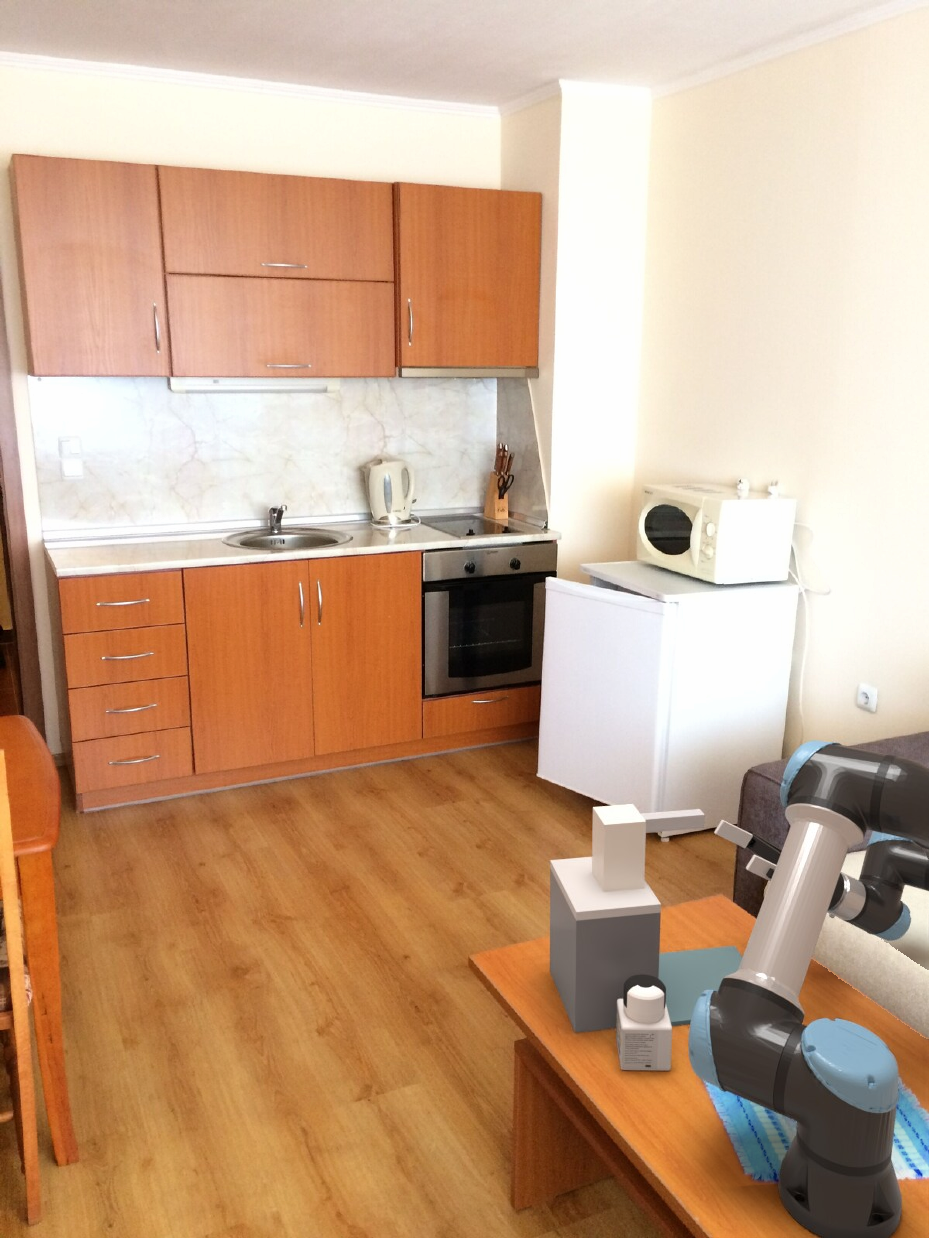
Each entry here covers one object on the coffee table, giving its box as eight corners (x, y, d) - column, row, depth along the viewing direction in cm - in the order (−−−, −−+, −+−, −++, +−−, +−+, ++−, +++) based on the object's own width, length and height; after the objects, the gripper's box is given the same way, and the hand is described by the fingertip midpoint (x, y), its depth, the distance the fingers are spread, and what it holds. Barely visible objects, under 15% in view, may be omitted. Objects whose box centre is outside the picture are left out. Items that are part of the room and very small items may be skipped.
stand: (624, 963, 190) (627, 853, 184) (657, 1023, 172) (661, 904, 167) (549, 971, 188) (550, 860, 182) (575, 1032, 170) (576, 912, 165)
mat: (734, 949, 194) (734, 945, 194) (781, 1013, 175) (782, 1009, 174) (630, 959, 191) (630, 956, 191) (667, 1026, 172) (667, 1022, 172)
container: (615, 1039, 169) (617, 968, 166) (663, 1039, 168) (666, 968, 165) (620, 1070, 161) (622, 997, 158) (671, 1071, 161) (673, 997, 158)
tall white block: (692, 862, 181) (694, 798, 178) (707, 882, 174) (710, 815, 171) (591, 871, 178) (592, 807, 175) (603, 891, 171) (604, 824, 168)
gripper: (856, 946, 171) (753, 898, 166) (787, 875, 195) (696, 830, 190) (880, 908, 170) (777, 858, 165) (808, 841, 194) (717, 796, 188)
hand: (734, 843), depth 177 cm, fingers open, 13 cm apart
